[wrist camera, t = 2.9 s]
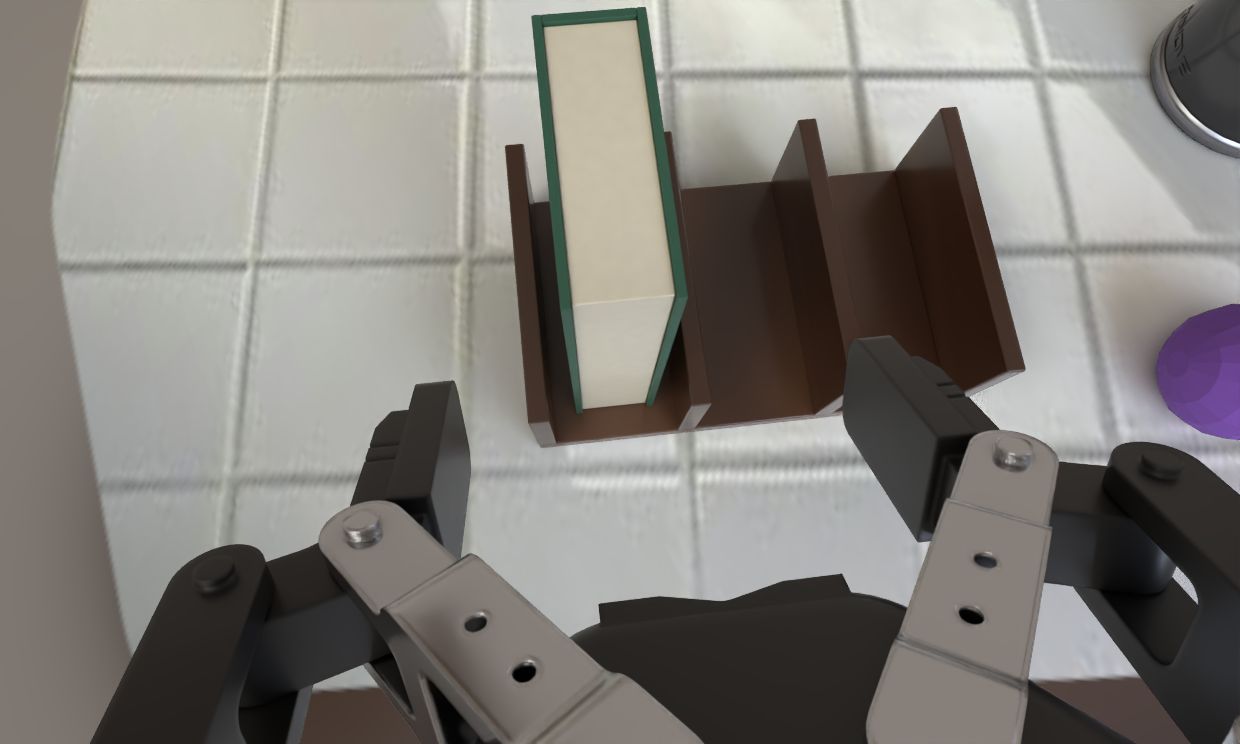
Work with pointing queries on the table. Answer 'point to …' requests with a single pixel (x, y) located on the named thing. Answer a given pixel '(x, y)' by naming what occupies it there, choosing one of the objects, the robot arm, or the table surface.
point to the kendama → (1204, 372)
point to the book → (609, 203)
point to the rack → (787, 290)
